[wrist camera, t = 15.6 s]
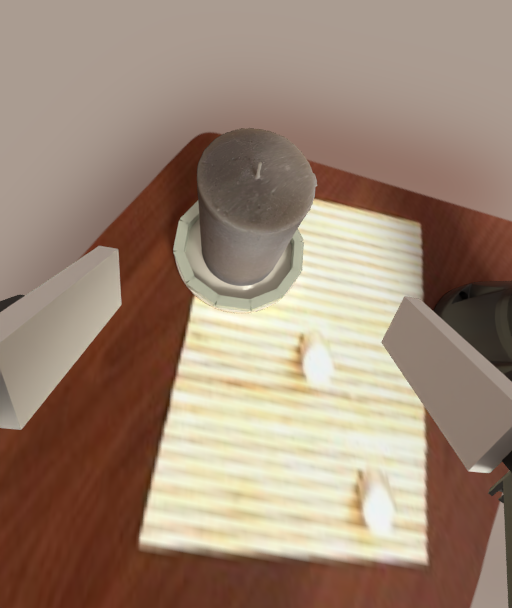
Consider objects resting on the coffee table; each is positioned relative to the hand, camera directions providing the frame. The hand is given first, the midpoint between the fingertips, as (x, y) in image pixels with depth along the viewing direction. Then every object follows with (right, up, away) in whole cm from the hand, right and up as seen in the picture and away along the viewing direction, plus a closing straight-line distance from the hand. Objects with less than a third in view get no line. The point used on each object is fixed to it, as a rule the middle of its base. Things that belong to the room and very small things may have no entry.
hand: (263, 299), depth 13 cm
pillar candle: (-2, +6, +22) cm, 23 cm away
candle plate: (-2, +6, +23) cm, 24 cm away
